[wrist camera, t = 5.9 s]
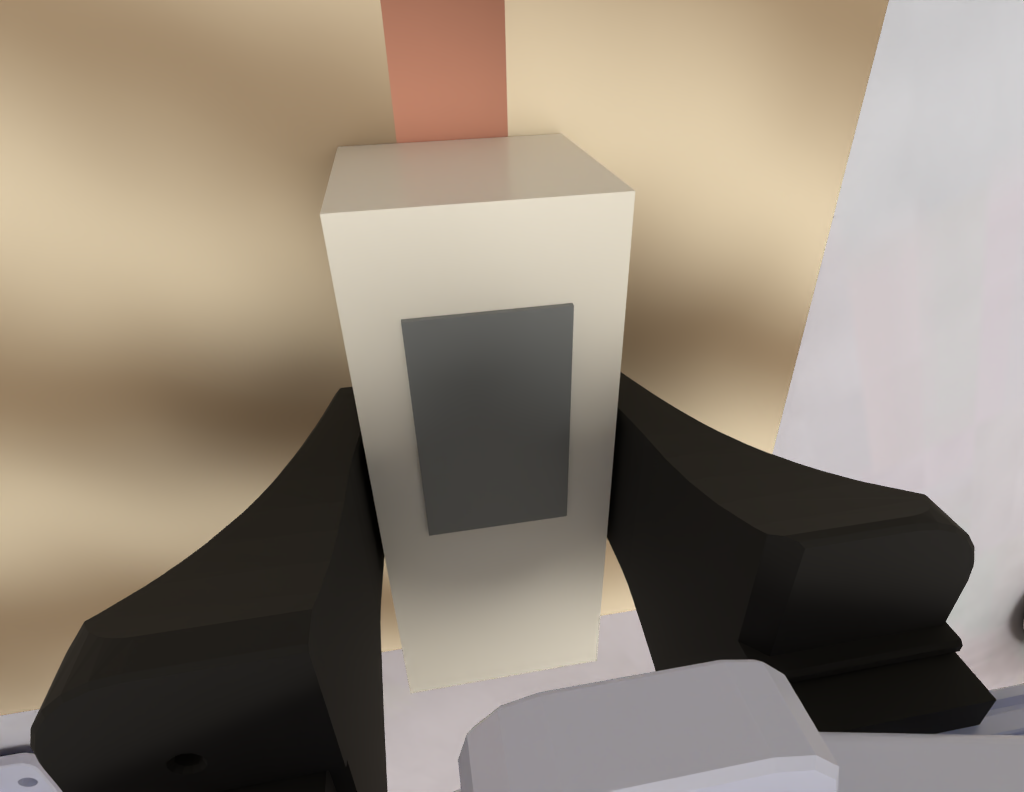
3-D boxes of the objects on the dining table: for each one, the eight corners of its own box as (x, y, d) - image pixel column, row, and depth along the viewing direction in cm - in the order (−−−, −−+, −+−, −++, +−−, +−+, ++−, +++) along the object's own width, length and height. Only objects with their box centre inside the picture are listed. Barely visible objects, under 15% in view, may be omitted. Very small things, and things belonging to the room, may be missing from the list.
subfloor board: (722, 569, 21) (736, 593, 20) (-45, 692, 18) (-65, 726, 17) (885, -139, 11) (926, -148, 10) (-762, -138, 8) (-895, -154, 7)
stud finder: (553, 529, 17) (598, 664, 14) (404, 551, 16) (410, 697, 13) (561, 133, 12) (637, 193, 8) (337, 146, 11) (319, 217, 8)
